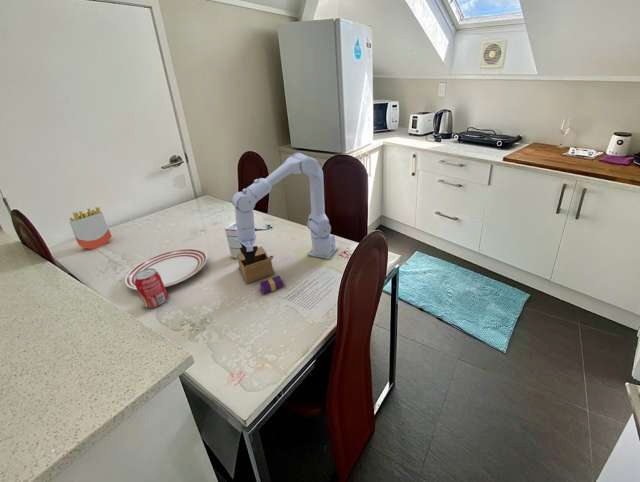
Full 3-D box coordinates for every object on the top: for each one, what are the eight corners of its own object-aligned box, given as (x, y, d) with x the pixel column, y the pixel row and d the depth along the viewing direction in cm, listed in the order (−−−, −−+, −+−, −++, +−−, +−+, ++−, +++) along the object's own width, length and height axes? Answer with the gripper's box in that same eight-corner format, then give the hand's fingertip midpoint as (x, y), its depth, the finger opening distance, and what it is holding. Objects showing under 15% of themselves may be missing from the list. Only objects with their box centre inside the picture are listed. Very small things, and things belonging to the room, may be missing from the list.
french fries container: (80, 249, 139) (63, 212, 132) (109, 238, 147) (95, 203, 140) (84, 252, 137) (67, 215, 129) (113, 241, 145) (99, 206, 138)
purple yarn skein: (280, 281, 116) (278, 275, 115) (283, 287, 113) (282, 280, 112) (261, 289, 112) (259, 282, 111) (264, 294, 110) (262, 287, 108)
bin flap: (270, 259, 118) (271, 260, 118) (244, 268, 113) (244, 269, 113) (273, 256, 113) (273, 257, 113) (245, 266, 108) (245, 266, 108)
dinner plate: (117, 276, 120) (114, 269, 119) (192, 246, 139) (190, 240, 138) (140, 308, 104) (137, 300, 103) (221, 269, 123) (219, 262, 122)
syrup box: (243, 259, 130) (237, 228, 124) (231, 257, 131) (223, 227, 125) (251, 251, 135) (245, 222, 129) (239, 250, 136) (232, 221, 130)
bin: (273, 273, 121) (271, 259, 118) (247, 283, 116) (244, 268, 113) (264, 259, 129) (261, 246, 127) (239, 267, 124) (236, 253, 122)
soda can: (151, 296, 110) (140, 267, 105) (172, 294, 110) (162, 266, 105) (139, 310, 103) (127, 281, 98) (161, 308, 104) (150, 279, 99)
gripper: (231, 219, 112) (235, 252, 117) (235, 236, 101) (239, 272, 105) (252, 216, 116) (255, 248, 120) (258, 233, 104) (261, 268, 108)
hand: (249, 259), depth 113 cm, fingers open, 6 cm apart
